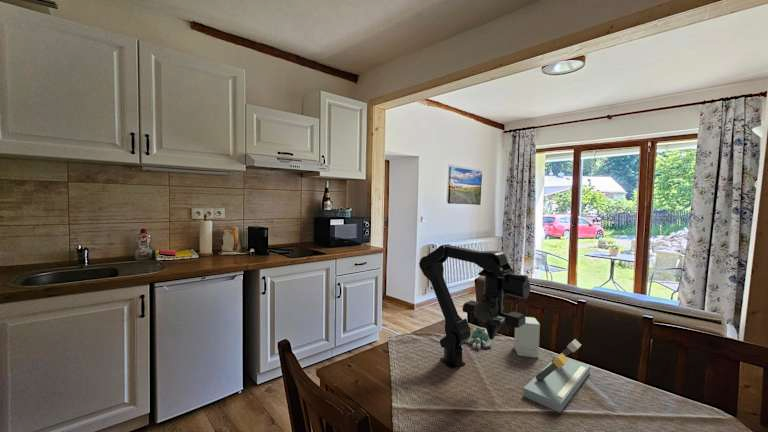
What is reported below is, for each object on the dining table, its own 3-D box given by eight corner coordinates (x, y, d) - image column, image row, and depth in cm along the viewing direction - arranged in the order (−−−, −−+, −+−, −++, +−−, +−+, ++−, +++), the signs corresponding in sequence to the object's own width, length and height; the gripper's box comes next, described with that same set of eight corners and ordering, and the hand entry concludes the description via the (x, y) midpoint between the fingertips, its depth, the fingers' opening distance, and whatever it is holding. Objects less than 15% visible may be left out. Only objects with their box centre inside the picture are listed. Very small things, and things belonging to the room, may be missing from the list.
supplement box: (538, 358, 118) (540, 324, 117) (517, 355, 119) (519, 322, 118) (533, 349, 125) (535, 317, 124) (513, 346, 126) (515, 315, 126)
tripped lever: (533, 376, 98) (557, 357, 93) (538, 372, 101) (562, 352, 96) (539, 384, 97) (564, 364, 92) (544, 379, 99) (568, 360, 94)
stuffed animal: (461, 334, 124) (468, 318, 134) (462, 350, 126) (468, 334, 136) (490, 340, 119) (495, 324, 130) (490, 357, 121) (495, 339, 131)
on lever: (549, 361, 108) (571, 342, 103) (553, 357, 111) (575, 338, 106) (555, 367, 106) (578, 348, 102) (559, 363, 109) (581, 344, 104)
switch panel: (523, 396, 94) (523, 387, 94) (557, 361, 115) (557, 354, 115) (560, 412, 87) (560, 403, 87) (589, 373, 108) (590, 365, 108)
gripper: (454, 289, 103) (452, 337, 103) (511, 303, 89) (508, 358, 90) (472, 283, 110) (470, 327, 111) (527, 296, 97) (524, 346, 98)
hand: (491, 339), depth 102 cm, fingers closed
